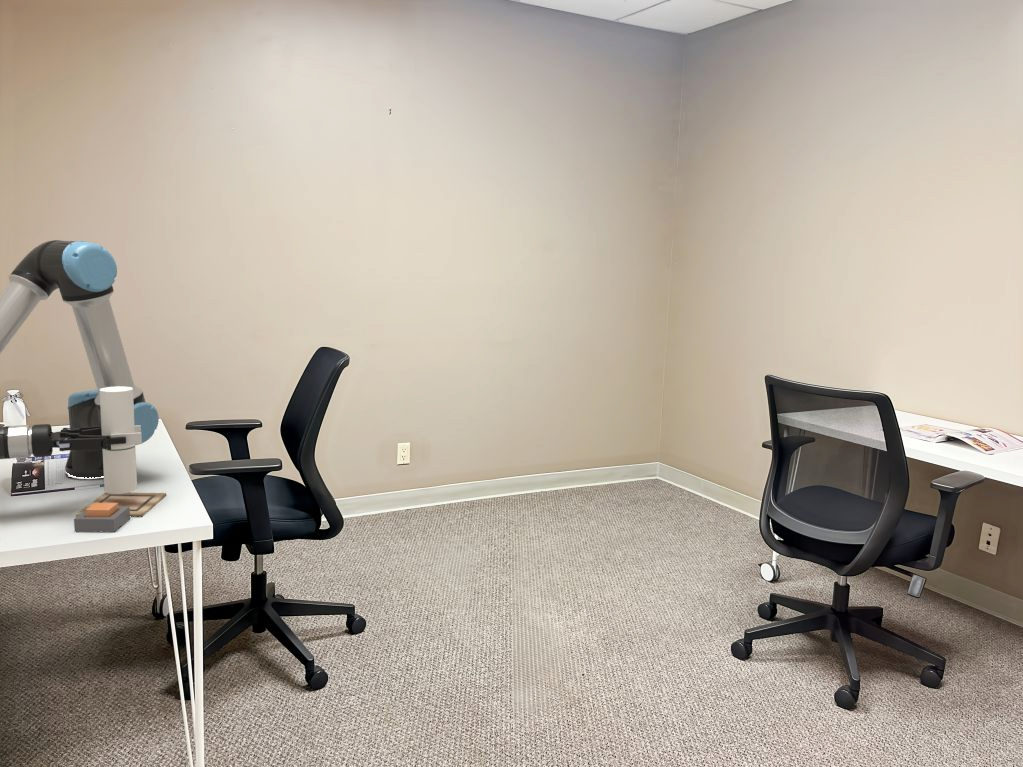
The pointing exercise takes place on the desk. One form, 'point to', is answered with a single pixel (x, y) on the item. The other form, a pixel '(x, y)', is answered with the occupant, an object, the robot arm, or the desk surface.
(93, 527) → the button housing
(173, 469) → the desk surface
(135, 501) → the picture board
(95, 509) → the button
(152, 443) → the desk surface
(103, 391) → the cylindrical container
